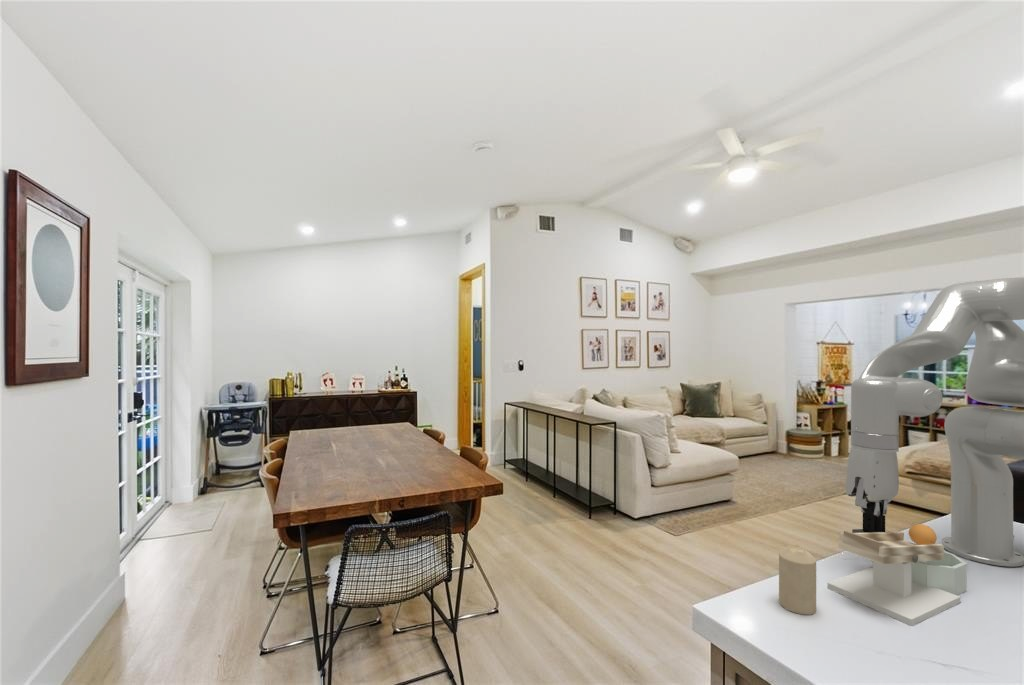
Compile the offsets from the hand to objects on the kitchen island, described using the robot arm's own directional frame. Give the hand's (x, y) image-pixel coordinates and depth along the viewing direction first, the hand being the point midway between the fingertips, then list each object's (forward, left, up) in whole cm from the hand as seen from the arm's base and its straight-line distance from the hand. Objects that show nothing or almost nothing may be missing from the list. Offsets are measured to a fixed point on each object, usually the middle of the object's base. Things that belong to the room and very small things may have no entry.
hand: (873, 533), depth 93 cm
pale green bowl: (-5, +6, -8) cm, 11 cm away
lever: (+7, +4, 0) cm, 8 cm away
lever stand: (+7, +6, -8) cm, 12 cm away
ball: (-4, +6, +1) cm, 7 cm away
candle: (+26, +1, -8) cm, 27 cm away
